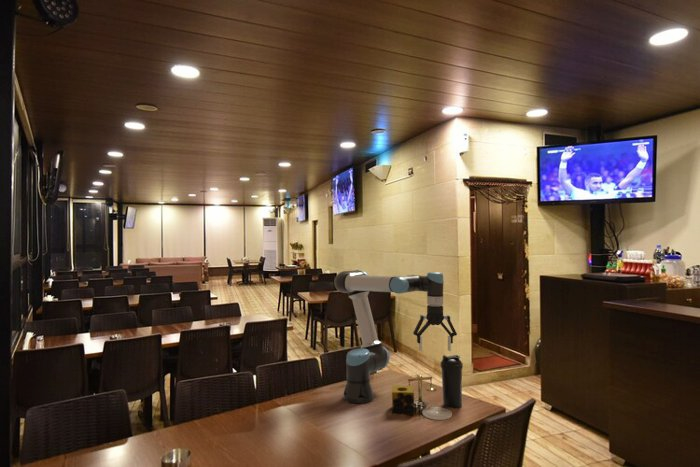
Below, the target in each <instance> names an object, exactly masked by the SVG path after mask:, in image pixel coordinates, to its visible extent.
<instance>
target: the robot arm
mask: <svg viewBox="0 0 700 467" xmlns="http://www.w3.org/2000/svg"><path fill="white" fill-rule="evenodd" d="M333 282H334V283H333V284H334V287H335V289H336V290H337V291H338V292H340V293H343V294H347V295H348V298H349V299H351V301H352V305H353V308H354V314H355V318H356V321H357V326H358V330H359V335H360V339H361V342H362V344H361V346H360V347H359V348H353V349H351V350H349V351H348V352H347V354H346V360H345V363H346V364H345V365H346V384H345V388H344V390H343V393H342V395H343V397H342V398H343V400H344V401H345V402H346V403H351V404H366V403H369V402H371V401H373V400H374V398H375V396H374V391H373V388H372V384H371V374H373V373H375V372H378V371H382V370H383V369H384V368H386V367H387V366H388V365H389V363H390V353H389V351H388V349H387V348H386V347H384V346H383V343H382V341H380V340H379V339H378V334H377V329H376V325H375V321H374V318H373V314H372V310H371V306H370V302H369V297H368V296H369V294H370V292H379V293H380V292H381V293H395V294H398V295H400V294H405V293H414V292H426V303H427V306H426V314H425V315H423V314H420V316H419V320H418V322H417V324H416V327H415V328H414V330H413V332H412V333H413V334H412V335H414V336H416V343H417V344H418V349H419V351H420V352H423V336H422V334H423V333H424V332H425V331H426V330H427V329H428V328H429V326H439V325H440V326H441V327H442V328H443V329H444V330H445V331H446V333H447V334H448V335H447V350H448V351H449V352H451V351H452V349H451V348H452V344H453V343H454V337H455V336H457V335H458V333H457V331H456V329H455V327H454V325H453V323H452V321H451V316H450V315H449V314H446V315H444V306H443V305H444V283H445V282H444V274H443V273H442V272H439V271H438V272H436V271H429V272H427V274H426V275H415V274H408V275H406V276H387V275H386V276H379V275H376V276H375V275H369V274H368V273H367V272H366V271H364V270H359V269H356V270H344V271H339V273H337V274H336V276H335V277H334V281H333ZM425 319H426V320H427V321H426V322H425V324H424V325H423V323H424V321H425ZM444 320H445V321H446V323H447V324H448V325H449V327H450V330H449V328H448V327H447V326H446V325H445V323H444V322H443V321H444ZM422 325H423V326H422ZM421 326H422V327H421ZM420 328H421V329H420Z"/></svg>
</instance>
